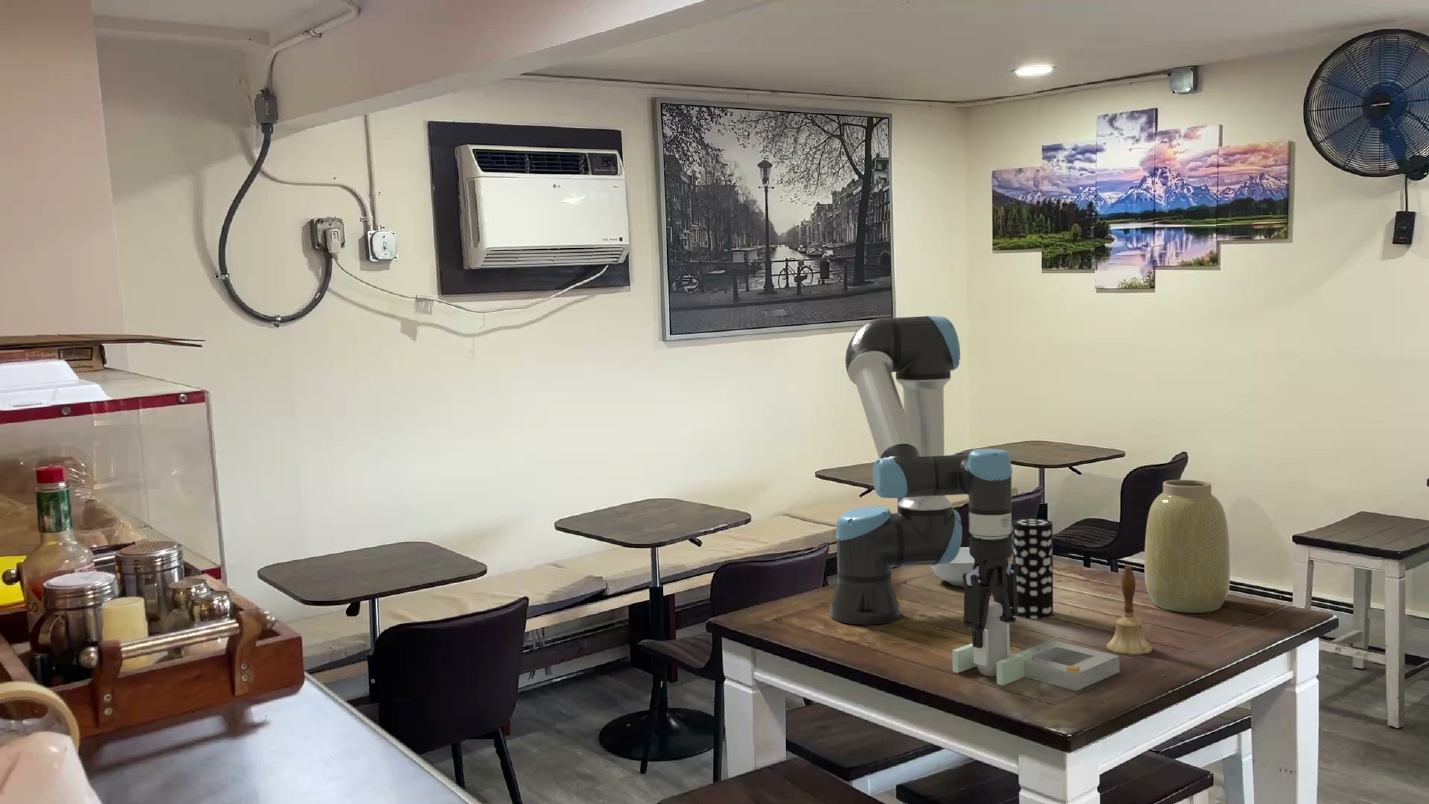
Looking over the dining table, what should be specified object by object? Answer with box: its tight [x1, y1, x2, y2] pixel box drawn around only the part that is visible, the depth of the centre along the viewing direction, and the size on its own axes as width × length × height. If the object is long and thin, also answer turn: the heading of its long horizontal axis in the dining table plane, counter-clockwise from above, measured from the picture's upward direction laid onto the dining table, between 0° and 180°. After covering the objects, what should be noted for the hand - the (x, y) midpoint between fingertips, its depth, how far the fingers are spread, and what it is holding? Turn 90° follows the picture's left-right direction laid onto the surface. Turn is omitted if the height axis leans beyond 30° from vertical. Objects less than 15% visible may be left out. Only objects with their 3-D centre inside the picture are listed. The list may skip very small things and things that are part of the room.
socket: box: [1008, 639, 1120, 692], centre depth 203 cm, size 14×14×4 cm
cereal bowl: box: [930, 546, 974, 587], centre depth 270 cm, size 17×17×7 cm
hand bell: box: [1106, 566, 1153, 656], centre depth 215 cm, size 8×8×16 cm
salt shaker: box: [976, 600, 1007, 677], centre depth 204 cm, size 6×6×13 cm
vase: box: [1144, 479, 1231, 614], centre depth 243 cm, size 17×17×27 cm
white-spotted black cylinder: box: [1011, 518, 1054, 620], centre depth 241 cm, size 8×8×20 cm
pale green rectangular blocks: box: [951, 643, 1032, 686], centre depth 204 cm, size 11×9×4 cm
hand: (991, 659), depth 204 cm, fingers closed on salt shaker, 6 cm apart
